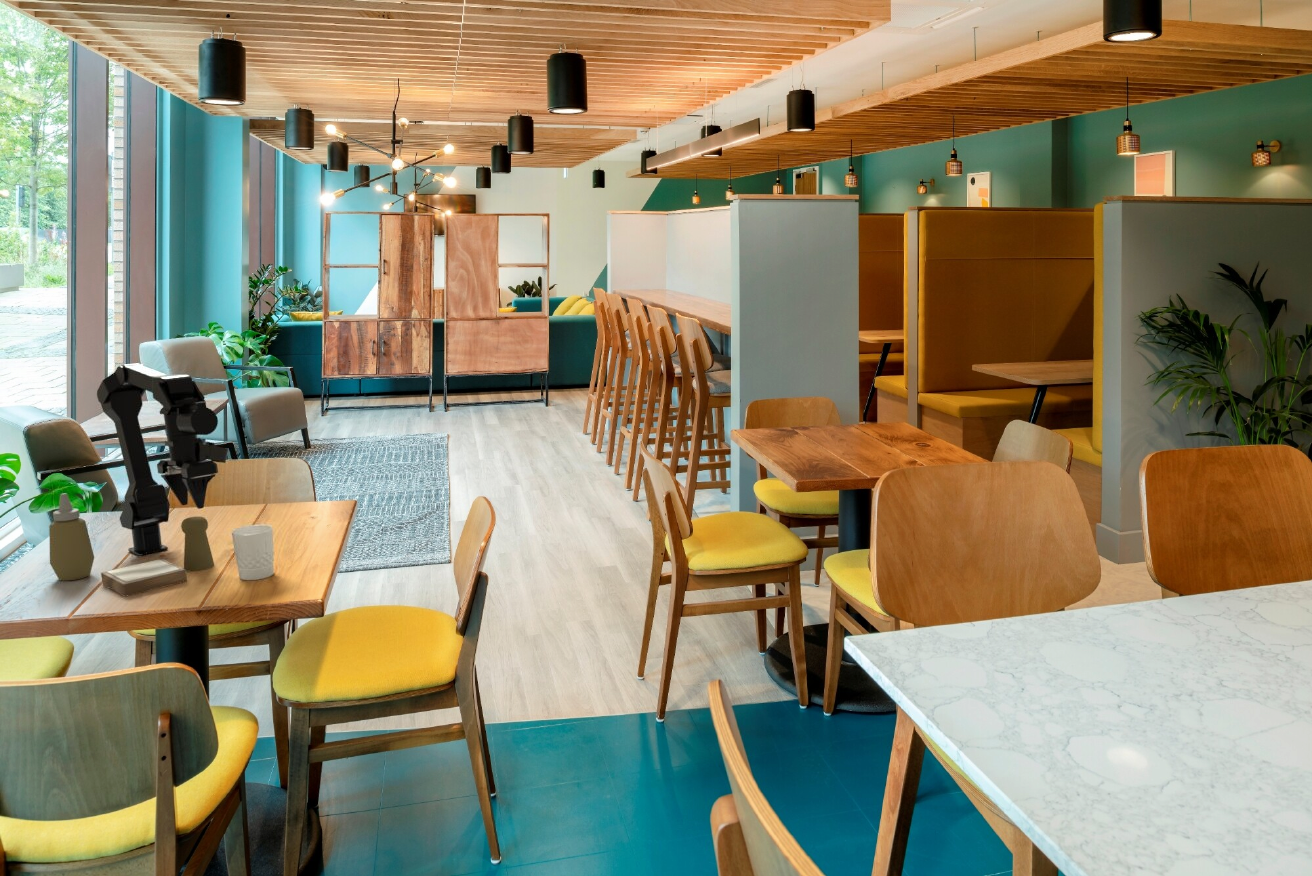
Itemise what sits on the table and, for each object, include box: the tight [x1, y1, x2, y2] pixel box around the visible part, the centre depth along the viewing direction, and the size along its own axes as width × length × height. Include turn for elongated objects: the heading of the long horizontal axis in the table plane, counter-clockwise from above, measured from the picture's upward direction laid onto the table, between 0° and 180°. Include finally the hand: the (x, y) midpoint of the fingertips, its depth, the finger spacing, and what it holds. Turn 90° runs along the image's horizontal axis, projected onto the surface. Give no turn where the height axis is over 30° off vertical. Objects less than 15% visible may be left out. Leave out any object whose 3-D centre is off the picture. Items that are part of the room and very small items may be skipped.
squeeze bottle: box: [48, 493, 95, 581], centre depth 203 cm, size 8×8×18 cm
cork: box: [180, 515, 215, 572], centre depth 209 cm, size 6×6×11 cm
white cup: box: [231, 524, 275, 581], centre depth 202 cm, size 8×8×10 cm
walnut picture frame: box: [100, 558, 188, 597], centre depth 200 cm, size 12×12×3 cm
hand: (192, 506), depth 208 cm, fingers open, 9 cm apart
